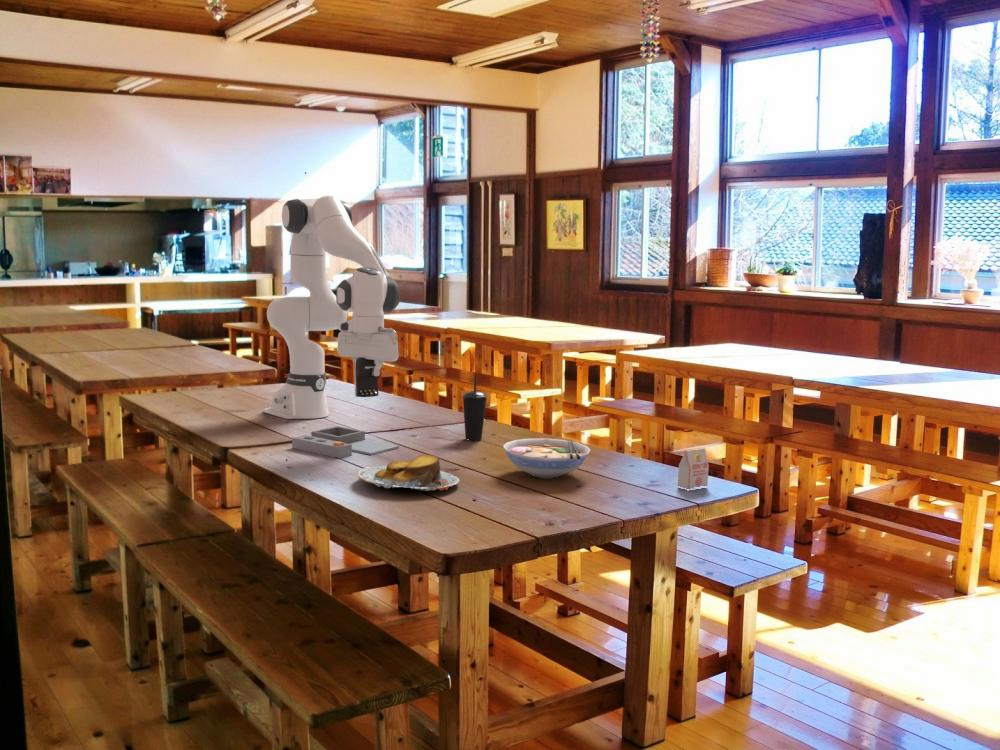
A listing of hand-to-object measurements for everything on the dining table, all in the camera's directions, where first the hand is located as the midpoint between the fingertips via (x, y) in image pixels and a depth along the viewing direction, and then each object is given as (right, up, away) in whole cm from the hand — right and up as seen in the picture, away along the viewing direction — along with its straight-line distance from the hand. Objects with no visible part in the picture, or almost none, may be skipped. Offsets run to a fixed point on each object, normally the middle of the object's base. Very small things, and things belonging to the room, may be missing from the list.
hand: (367, 374), depth 273 cm
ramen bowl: (+49, -26, -20) cm, 60 cm away
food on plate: (+15, -28, -34) cm, 46 cm away
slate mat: (0, -21, +3) cm, 21 cm away
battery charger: (0, -6, 0) cm, 6 cm away
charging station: (-9, -20, +5) cm, 23 cm away
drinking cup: (+29, -20, +19) cm, 40 cm away
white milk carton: (+86, -29, -28) cm, 95 cm away
